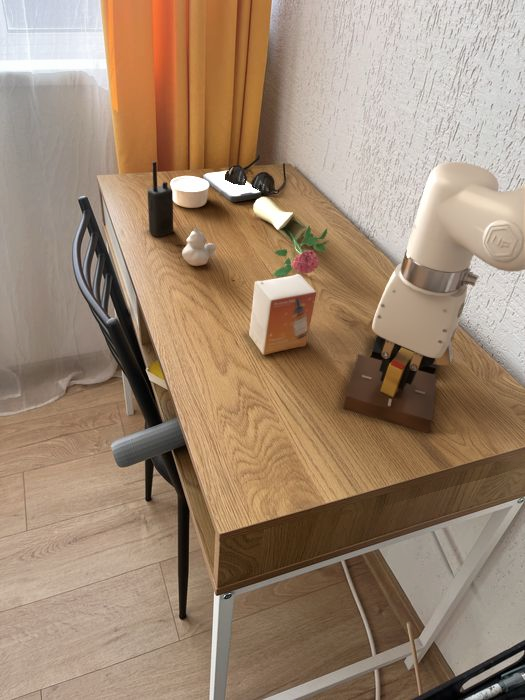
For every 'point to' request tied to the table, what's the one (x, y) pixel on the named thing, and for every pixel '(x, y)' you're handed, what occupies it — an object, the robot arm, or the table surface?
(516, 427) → the table surface
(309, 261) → the toppled flower pot
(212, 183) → the phone case
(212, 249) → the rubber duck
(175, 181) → the ramekin
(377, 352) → the button box
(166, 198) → the walkie-talkie
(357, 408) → the plate
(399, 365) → the yellow block
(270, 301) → the small box
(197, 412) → the table surface
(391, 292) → the robot arm
